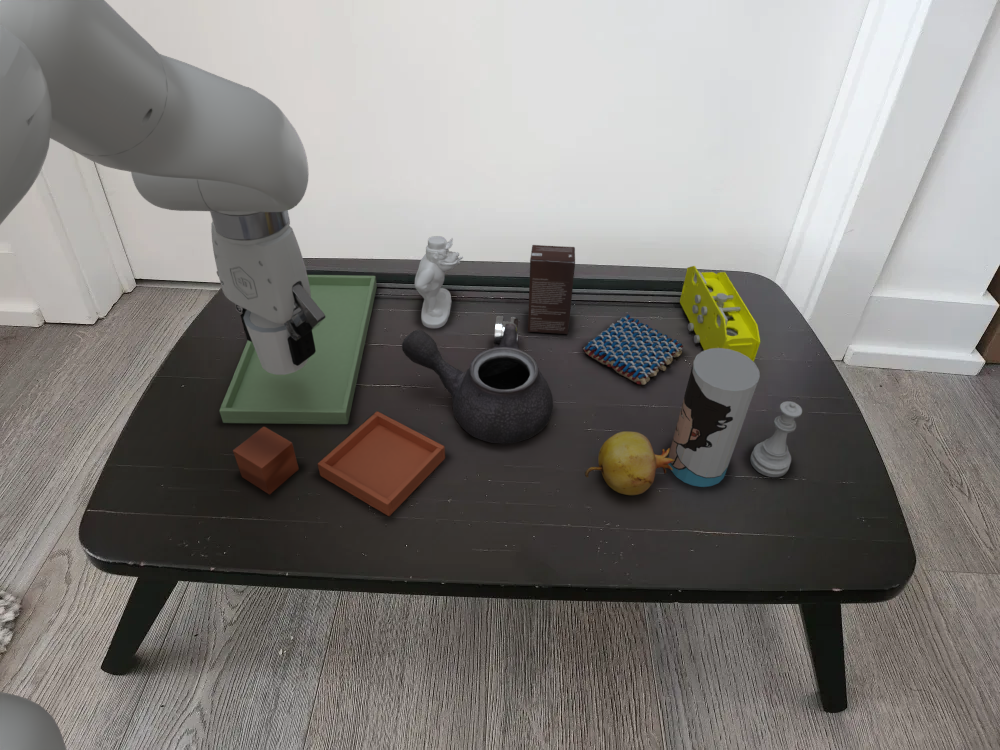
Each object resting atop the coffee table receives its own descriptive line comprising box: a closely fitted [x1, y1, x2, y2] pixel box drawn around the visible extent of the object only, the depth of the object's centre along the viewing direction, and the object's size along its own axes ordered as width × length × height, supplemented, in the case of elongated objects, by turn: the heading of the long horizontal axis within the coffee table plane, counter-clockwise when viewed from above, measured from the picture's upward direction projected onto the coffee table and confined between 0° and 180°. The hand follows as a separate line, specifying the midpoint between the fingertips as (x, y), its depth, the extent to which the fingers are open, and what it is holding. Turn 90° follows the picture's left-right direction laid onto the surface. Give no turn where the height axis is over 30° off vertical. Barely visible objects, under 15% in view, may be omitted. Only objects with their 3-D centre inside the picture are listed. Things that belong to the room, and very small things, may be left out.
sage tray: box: [219, 274, 378, 425], centre depth 99 cm, size 29×15×2 cm, turn 0°
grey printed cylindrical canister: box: [667, 348, 761, 488], centre depth 80 cm, size 7×7×15 cm
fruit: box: [584, 430, 675, 496], centre depth 80 cm, size 7×7×10 cm
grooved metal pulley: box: [493, 315, 519, 348], centre depth 98 cm, size 5×3×5 cm, turn 175°
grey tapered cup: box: [243, 305, 308, 375], centre depth 85 cm, size 7×7×7 cm
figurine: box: [414, 235, 464, 329], centre depth 102 cm, size 9×7×12 cm
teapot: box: [401, 324, 554, 444], centre depth 88 cm, size 19×15×10 cm
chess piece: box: [749, 400, 803, 478], centre depth 82 cm, size 4×4×10 cm
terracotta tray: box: [317, 410, 446, 517], centre depth 83 cm, size 10×10×2 cm
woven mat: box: [583, 314, 684, 386], centre depth 99 cm, size 10×11×2 cm
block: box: [232, 426, 300, 495], centre depth 81 cm, size 4×4×4 cm
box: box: [527, 244, 576, 335], centre depth 100 cm, size 6×4×12 cm
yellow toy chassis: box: [679, 265, 761, 363], centre depth 100 cm, size 16×6×8 cm, turn 7°
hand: (281, 345), depth 86 cm, fingers closed on grey tapered cup, 6 cm apart
